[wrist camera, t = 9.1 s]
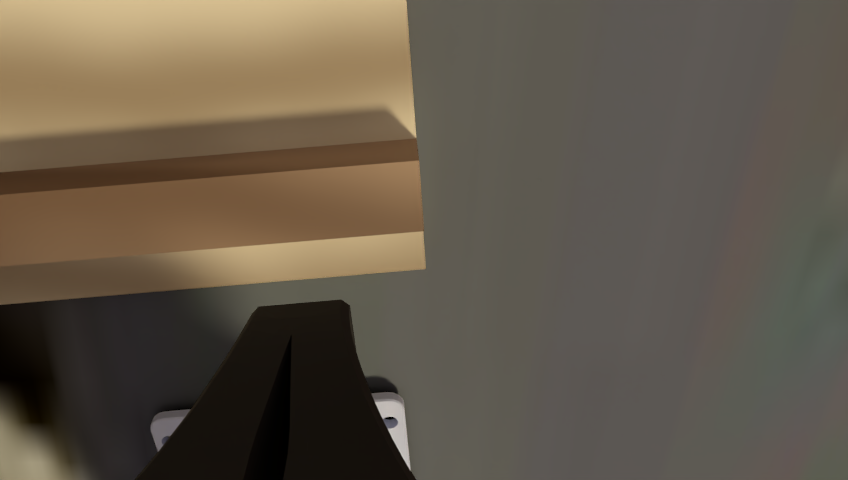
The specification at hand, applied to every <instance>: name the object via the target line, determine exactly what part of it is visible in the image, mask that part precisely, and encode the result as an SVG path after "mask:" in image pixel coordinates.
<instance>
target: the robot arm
mask: <svg viewBox="0 0 848 480" xmlns="http://www.w3.org/2000/svg"><path fill="white" fill-rule="evenodd" d="M386 417H394V419H391V420H389V419H385V418H386ZM151 433H152V436H153V439H154V442H155V445H156V448H157V451H158V453H157V454H156V455H155V456H154V458H153V459H152V460H151V461H150V462H149V464H148V465H147V466H146V467H145V468H144V469H143V471H142V472H141V473H140V474H139V475H138V476H137V478H136V479H135V480H416V479H415V477H414V476H413V474H412V472H411V468H410V458H409V448H408V439H407V429H406V419H405V409H404V401H403V399H402V397H401V396H399V395H398V394H396V393H393V392H382V393H371V391H370V389H369V386H368V384H367V381H366V379H365V376H364V374H363V371H362V368H361V365H360V363H359V360H358V356H357V353H356V346H355V339H354V332H353V325H352V318H351V311H350V305H348V304H347V303H345V302H344V301H343V300H332V301H320V302H308V303H296V304H285V305H273V306H261V307H258V308H257V309H256V310H255V311H254V312H253V313H252V315H251V317H250V318H249V320H248V322H247V324H246V325H245V327H244V329H243V330H242V332H241V334H240V335H239V337H238V339H237V340H236V342H235V344H234V345H233V347H232V348H231V350H230V352H229V353H228V355H227V356H226V358H225V360H224V361H223V363H222V364H221V366H220V367H219V369H218V370H217V372H216V373H215V375H214V376H213V378H212V379H211V381H210V382H209V384H208V385H207V387H206V388H205V389H204V391H203V392H202V394H201V395H200V397H199V398H198V400H197V401H196V403H195V404H194V405H193V407H192V408H191V409H186V410H175V411H164V412H160V413H158V414H157V415H155V416H154V418H153V420H152V423H151ZM167 436H170V437H167Z"/></svg>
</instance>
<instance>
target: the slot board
mask: <svg viewBox="0 0 848 480" xmlns="http://www.w3.org/2000/svg"><path fill="white" fill-rule="evenodd" d="M423 231H424V224H423V210H422V197H421V183H420V169H419V157H418V149H417V140H416V128H415V114H414V100H413V87H412V73H411V59H410V45H409V32H408V18H407V4H406V0H0V305H4V304H16V303H28V302H39V301H51V300H63V299H75V298H87V297H99V296H110V295H122V294H134V293H146V292H158V291H170V290H181V289H193V288H205V287H217V286H229V285H241V284H253V283H264V282H276V281H288V280H300V279H312V278H324V277H335V276H347V275H359V274H371V273H383V272H395V271H406V270H418V269H426V265H425V251H424V238H423Z"/></svg>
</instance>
